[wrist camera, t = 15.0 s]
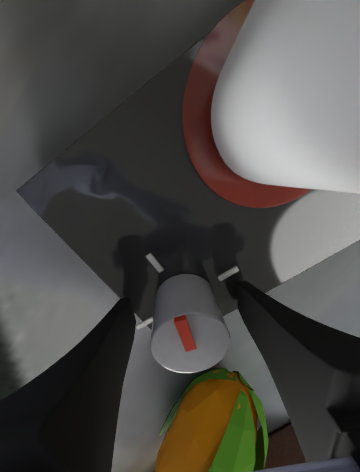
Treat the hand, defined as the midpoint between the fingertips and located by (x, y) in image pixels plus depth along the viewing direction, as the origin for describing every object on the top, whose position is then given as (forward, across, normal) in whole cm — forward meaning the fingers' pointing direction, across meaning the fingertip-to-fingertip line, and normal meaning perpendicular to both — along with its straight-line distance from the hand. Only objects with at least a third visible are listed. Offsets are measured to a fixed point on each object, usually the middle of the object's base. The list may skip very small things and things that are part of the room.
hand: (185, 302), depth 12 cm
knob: (0, 0, 0) cm, 0 cm away
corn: (+3, +1, +17) cm, 17 cm away
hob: (+3, -3, -6) cm, 7 cm away
